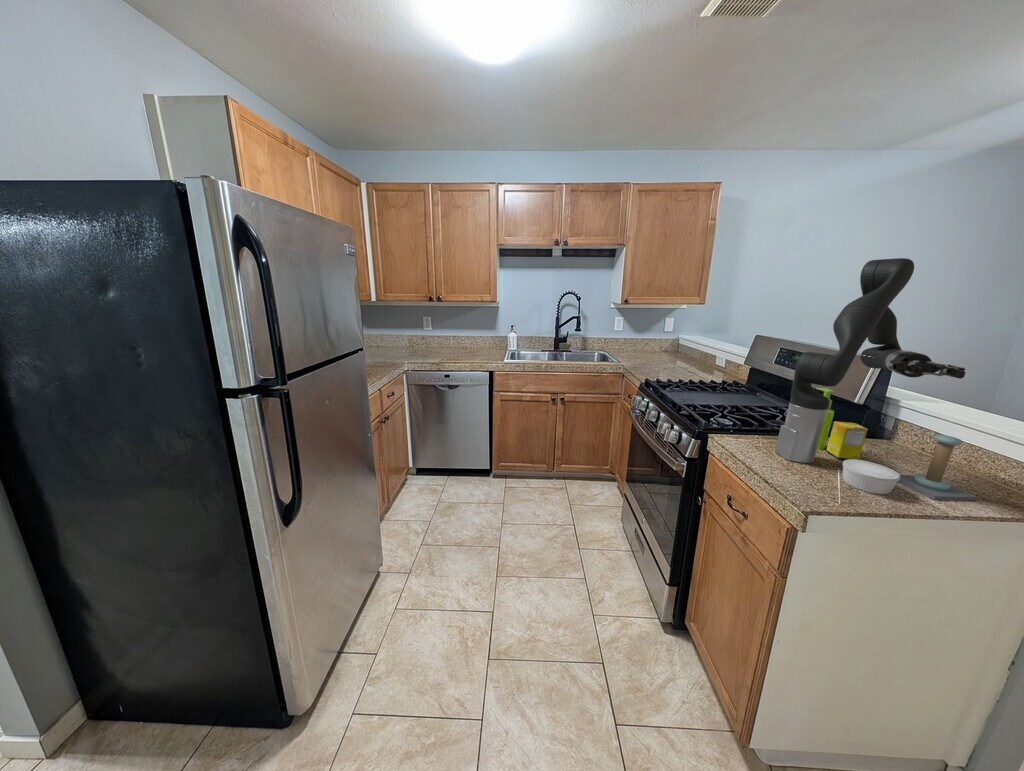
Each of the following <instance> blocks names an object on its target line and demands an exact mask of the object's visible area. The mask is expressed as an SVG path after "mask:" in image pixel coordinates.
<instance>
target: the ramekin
mask: <svg viewBox="0 0 1024 771" xmlns="http://www.w3.org/2000/svg"><path fill="white" fill-rule="evenodd" d="M900 475H901V474H899V472H897V471H895V470H893V469H892V468H889V467H887V466H885V465H882V464H880V463H875V462H872V461H868V460H864V459H859V460H857V459H849V460H843V462H842V479H843V482H845V483H846V484H847V485H849V486H851V487H853V488H855V489H857V490H860V491H863V492H865V493H869V494H870V493H871V494H874V495H886V494H889V493H891V492H892V491H893V489H894V487H895V486H896V485H897V483H898V482H897V481H899V480H900Z"/></svg>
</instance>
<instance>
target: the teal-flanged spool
mask: <svg viewBox="0 0 1024 771" xmlns="http://www.w3.org/2000/svg"><path fill="white" fill-rule="evenodd" d="M934 441H936V442H937V445H936V447H935V450H934V452H933V455H932V458H931V460H930V463H929V466H928V469H927V471H926V474H925V473H915V474H914V475H915V478H914V482H915V483H917V484H919V485H921V486H923V487H926V488H929V489H933V490H937V491H949V489H950V487H951V486H952V483H951V482H949V481H947V480H945V479H943V477H944V474H945V472H946V469H947V467H948V464H949V461H950V458H951V456H952V453H953V450H954V448H955V446H960V445H961V443H962V439H960V438H957V437H955V436H951V435H945V434H935V435H934Z"/></svg>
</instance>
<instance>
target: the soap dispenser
mask: <svg viewBox="0 0 1024 771" xmlns="http://www.w3.org/2000/svg"><path fill="white" fill-rule="evenodd" d="M816 390H821V391H823V394H822V395H823V396H825V397H827V398H828V399H829V401H830V404H829V408H828V411H827V415H826V419H825V422H824V426H823V430H822V433H821V437H820V441H819V444H818V449H817V450H824V449H825V448H826V444H827V440H828V437H829V434H830V429H831V426H832V422H833V419H834V416H835V410H833V409H831V407H832V403H833V399H831V395H832V394H835V391H834V390H832V389H831V388H826V387H816Z"/></svg>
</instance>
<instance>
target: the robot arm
mask: <svg viewBox="0 0 1024 771" xmlns="http://www.w3.org/2000/svg"><path fill="white" fill-rule="evenodd" d="M914 270H915V263H914V261H913V260H912V259H910V258H906V257H905V258H903V257H898V258H885V259H884V258H881V259H873V260H868V261H867V262H866V263H865V264H864V265H863V267H862V269H861V272H860V277H859V282H860V290H861V294H862V296H860V297H857V298H856V299H855V300H853V301H851V302H849V303H847V305H845V306H844V308H843V309H842V310H841V311H840V312H839V314H838V315H837V317H836V318H835V320H834V322H833V326H832V328H833V334H834V336H835V338H836V340H837V343H838V348H839V350H838V352H836V353H835V354H829V353H823V352H814V351H805V352H803V353H802V354H801V355H800V356H799V358H798V359H797V362H796V365H795V369H794V370H795V371H794V373H793V380H792V386H791V389H790V390H791V391H790V400H789V404H788V408H787V412H786V416H785V421H784V424H781V425H780V428H779V433H778V436H777V437H778V438H777V441H776V445H775V450H774V453H776V454H777V455H779V456H780V457H782V458H784V459H785V460H787V461H793V462H796V463H802V464H813V463H814V462H815V458H816V455H817V452H818V449H817V448H818V444H819V441H820V437H821V433H822V430H823V426H824V422H825V419H826V415H827V411H828V408H829V404H830V401H829V399H830V398H829V399H828V398H827V397H825V396H823V395H824V394H822V393H820V392H818V391H817V389H815V388H814V387H813V385H816V386H823V387H829V388H830V387H836V386H838V385H839V384H840V383H841V382H842V381H843V379H844V378H845V376H846V374H847V372H848V371H849V369H850V367H851V365H852V363H853V362H854V359H855V357H856V355H857V354H858V352H859V350H860V349H861V348H862V346H863V344H864V343H865V341H866V340H867V341H868V343H870V344H872V345H875V346H873V347H868V348H865V349H863V351H861V353H860V356H859V358H860V362H861V363H862V364H863V365H864V366H865V367H868V368H870V369H884V370H885V369H886V370H889V371H891V372H894V373H896V374H898V375H901V376H904V377H908V378H921V377H922V376H923V377H924V376H925V375H927V376H928V375H929V376H930V375H931V376H937V377H944V376H947V377H951V378H955V379H959V380H960V379H964V378H965V375H966V371H965V370H966V368H965V367H961V366H956V365H951V364H945V363H937V362H936V361H932V359H931V358H930V357H929V355H926V354H923V353H919V352H915V351H912V350H903V349H902V348H901V346H900V343H899V341H898V336H897V334H898V332H897V331H898V321H897V320H898V318H897V316H896V315H895V313H894V312H893V311H892V309H891V308H890V307H889V306H890V304H892V302H893V301H894V300H895V298H896V297H897V296H898V295H899V294H900V293H901V292H902V291H903V289H904V288H906V286H907V284H908V283H909V282H910V280H911V278H912V276H913V274H914ZM876 345H877V346H876ZM861 354H862V355H861ZM863 355H866V356H863ZM868 356H871V357H868ZM873 357H874V358H873Z"/></svg>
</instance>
